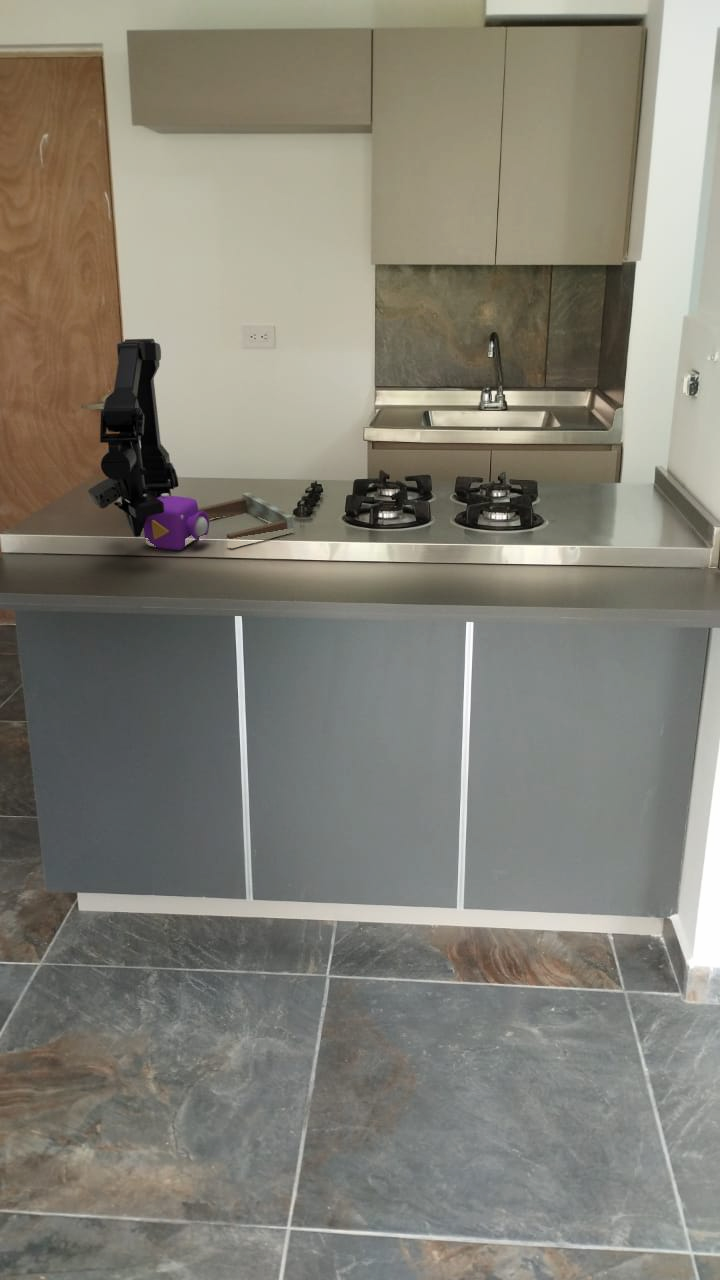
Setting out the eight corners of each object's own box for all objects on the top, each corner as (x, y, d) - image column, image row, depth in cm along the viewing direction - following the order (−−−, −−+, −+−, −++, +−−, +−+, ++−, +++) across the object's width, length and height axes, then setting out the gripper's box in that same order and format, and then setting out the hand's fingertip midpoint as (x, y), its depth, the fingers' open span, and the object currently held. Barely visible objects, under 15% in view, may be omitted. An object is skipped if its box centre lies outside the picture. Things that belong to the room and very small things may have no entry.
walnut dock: (189, 523, 244) (187, 506, 242) (249, 508, 251) (248, 492, 249) (230, 549, 229) (229, 532, 227) (293, 533, 236) (292, 516, 234)
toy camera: (202, 554, 227) (197, 509, 222) (141, 551, 229) (135, 506, 225) (218, 536, 236) (214, 492, 232) (159, 533, 239) (154, 490, 234)
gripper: (73, 461, 222) (84, 532, 229) (108, 484, 208) (118, 558, 215) (124, 450, 228) (133, 520, 235) (161, 472, 214) (169, 546, 221)
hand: (137, 536), depth 226 cm, fingers closed
